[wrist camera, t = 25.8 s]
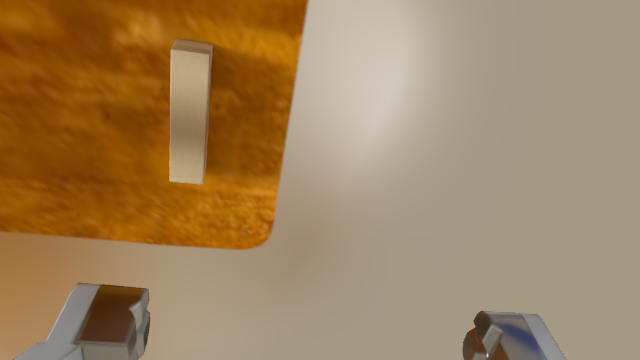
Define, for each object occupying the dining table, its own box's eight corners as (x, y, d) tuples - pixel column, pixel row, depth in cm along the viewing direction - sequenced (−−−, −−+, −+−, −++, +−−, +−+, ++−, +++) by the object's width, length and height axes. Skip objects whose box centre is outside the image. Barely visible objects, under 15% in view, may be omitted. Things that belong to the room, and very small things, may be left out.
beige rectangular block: (176, 38, 31) (170, 49, 29) (213, 43, 32) (209, 54, 30) (174, 165, 36) (169, 181, 34) (206, 168, 37) (202, 184, 35)
